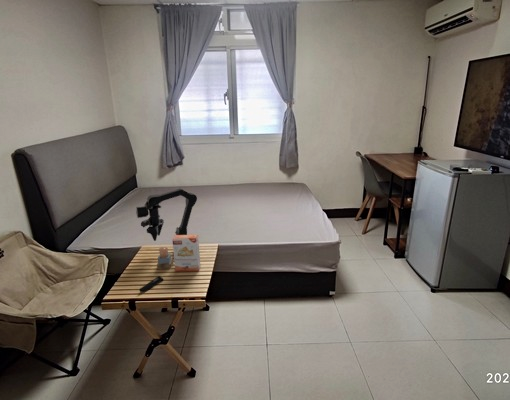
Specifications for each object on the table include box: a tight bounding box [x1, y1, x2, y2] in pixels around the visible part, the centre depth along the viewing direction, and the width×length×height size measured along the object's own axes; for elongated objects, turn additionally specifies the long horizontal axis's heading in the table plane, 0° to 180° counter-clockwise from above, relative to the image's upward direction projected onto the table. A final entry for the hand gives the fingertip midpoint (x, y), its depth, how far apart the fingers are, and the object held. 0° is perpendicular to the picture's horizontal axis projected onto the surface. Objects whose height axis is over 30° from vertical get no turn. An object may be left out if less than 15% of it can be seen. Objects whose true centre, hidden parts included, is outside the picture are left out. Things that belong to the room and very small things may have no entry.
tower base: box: [156, 257, 174, 270], centre depth 190 cm, size 8×8×4 cm
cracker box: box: [171, 234, 201, 272], centre depth 183 cm, size 14×6×21 cm, turn 89°
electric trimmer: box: [138, 275, 164, 293], centre depth 167 cm, size 4×16×3 cm, turn 153°
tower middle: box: [157, 252, 172, 264], centre depth 190 cm, size 6×6×4 cm
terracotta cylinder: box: [158, 246, 169, 258], centre depth 188 cm, size 5×5×5 cm
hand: (156, 238), depth 203 cm, fingers open, 9 cm apart
